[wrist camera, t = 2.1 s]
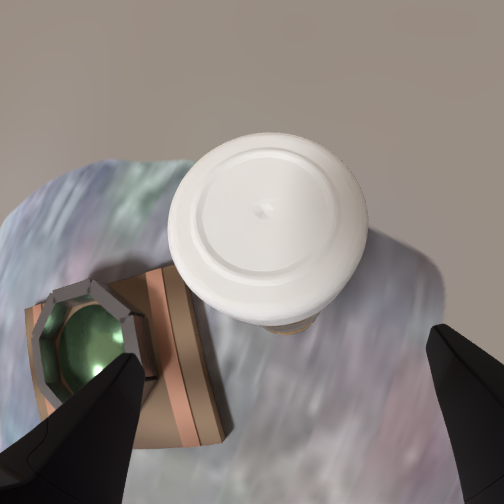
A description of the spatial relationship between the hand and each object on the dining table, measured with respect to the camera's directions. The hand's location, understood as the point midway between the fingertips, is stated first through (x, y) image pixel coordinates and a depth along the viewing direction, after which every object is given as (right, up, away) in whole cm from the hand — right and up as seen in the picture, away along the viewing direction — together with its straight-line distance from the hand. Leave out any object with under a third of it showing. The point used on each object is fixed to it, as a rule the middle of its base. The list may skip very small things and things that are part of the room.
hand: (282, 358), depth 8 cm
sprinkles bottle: (+1, 0, +11) cm, 11 cm away
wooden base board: (-12, -6, +11) cm, 17 cm away
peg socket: (-12, -5, +11) cm, 17 cm away
